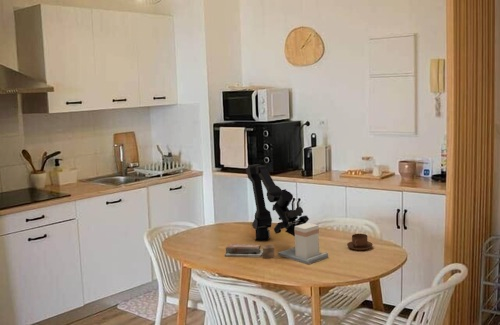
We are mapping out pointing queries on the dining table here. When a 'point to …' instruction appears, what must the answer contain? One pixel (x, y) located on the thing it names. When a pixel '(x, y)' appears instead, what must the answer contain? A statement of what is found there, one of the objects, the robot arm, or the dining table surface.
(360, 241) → the cup and saucer
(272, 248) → the walnut block
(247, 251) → the packaged product
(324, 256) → the podium
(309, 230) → the carton
